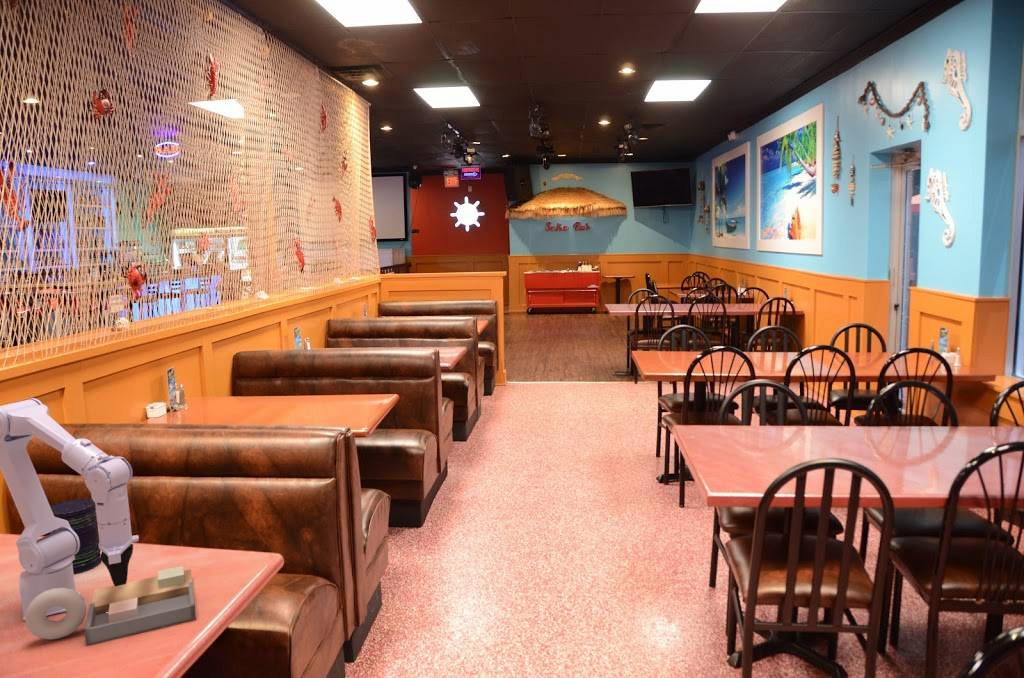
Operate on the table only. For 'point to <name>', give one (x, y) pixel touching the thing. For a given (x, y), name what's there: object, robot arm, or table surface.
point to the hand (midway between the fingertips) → (120, 583)
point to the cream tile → (123, 610)
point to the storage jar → (81, 531)
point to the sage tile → (171, 577)
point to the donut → (60, 628)
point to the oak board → (138, 592)
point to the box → (141, 618)
